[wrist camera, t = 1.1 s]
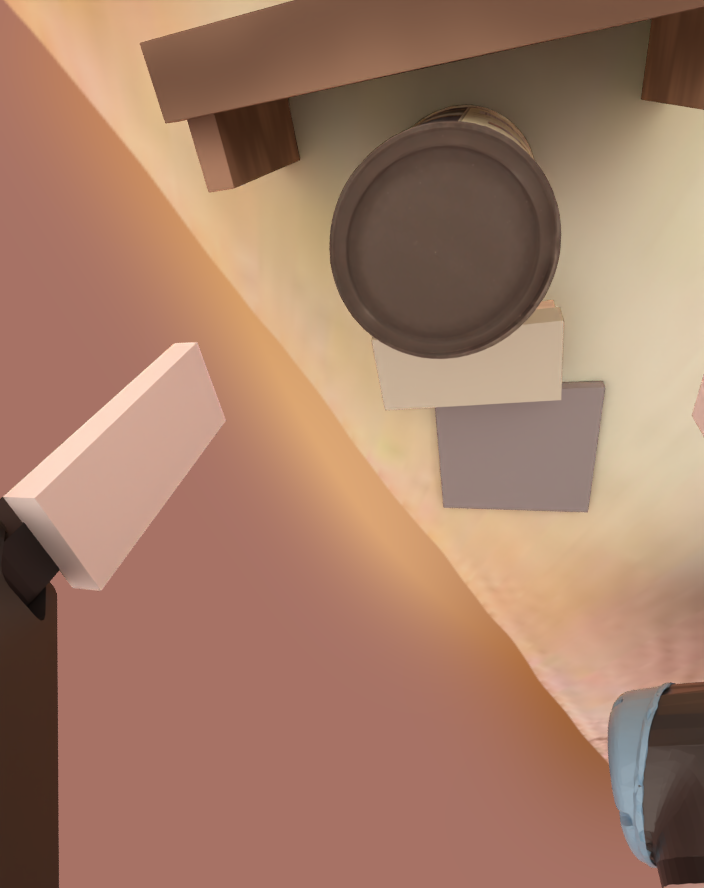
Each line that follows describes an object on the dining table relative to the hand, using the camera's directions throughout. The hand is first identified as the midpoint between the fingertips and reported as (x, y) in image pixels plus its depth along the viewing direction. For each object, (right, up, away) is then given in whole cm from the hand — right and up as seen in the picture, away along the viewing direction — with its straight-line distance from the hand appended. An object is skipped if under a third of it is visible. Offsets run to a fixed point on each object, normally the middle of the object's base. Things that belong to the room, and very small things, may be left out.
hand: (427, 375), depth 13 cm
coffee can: (+5, +15, +20) cm, 26 cm away
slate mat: (+12, -2, +31) cm, 33 cm away
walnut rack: (+4, +20, +16) cm, 26 cm away
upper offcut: (+7, +5, +25) cm, 26 cm away
